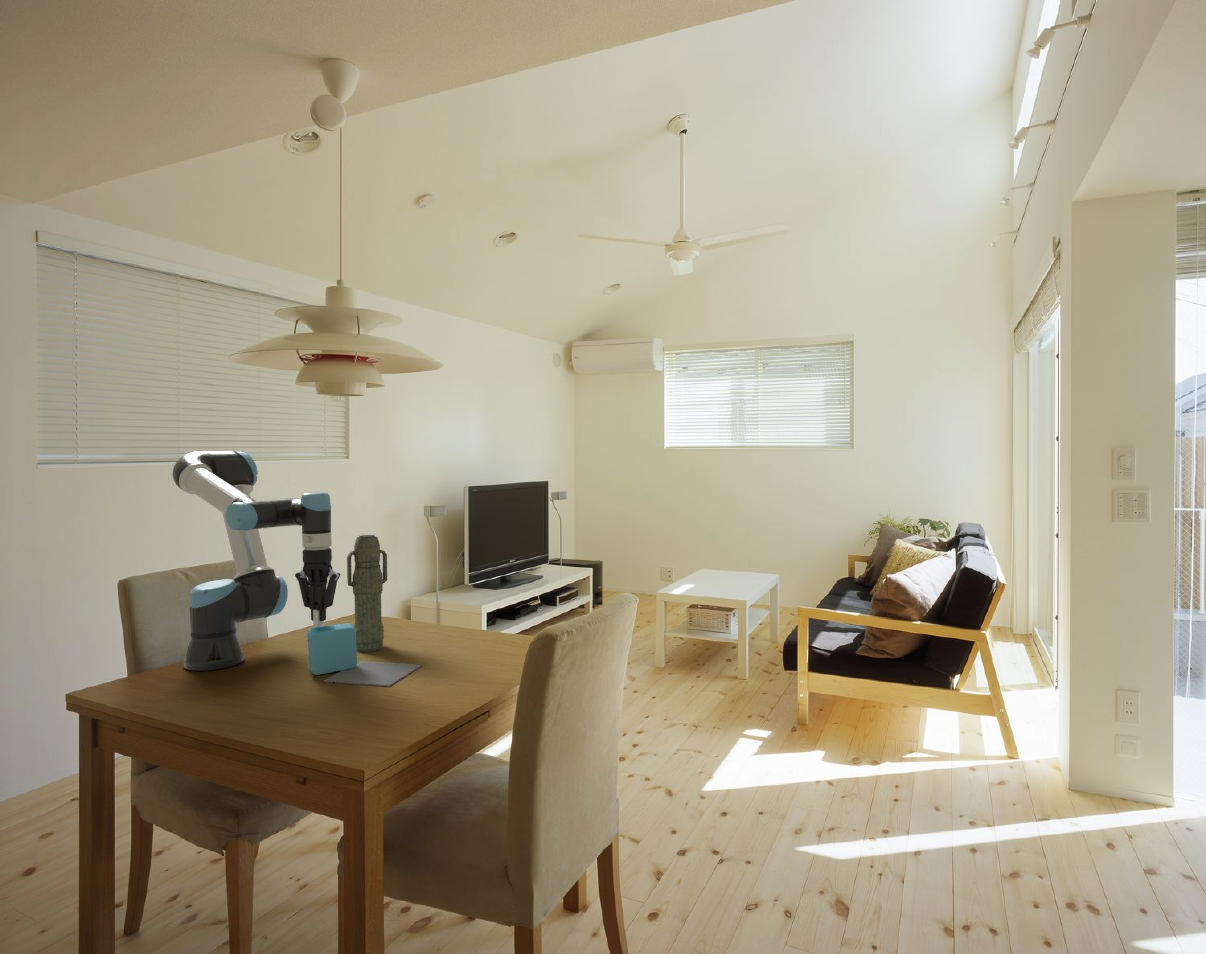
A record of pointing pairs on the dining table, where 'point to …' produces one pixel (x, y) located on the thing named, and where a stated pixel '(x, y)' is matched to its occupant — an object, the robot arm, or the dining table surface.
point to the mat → (374, 673)
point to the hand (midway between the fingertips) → (318, 632)
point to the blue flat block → (332, 648)
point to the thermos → (367, 592)
